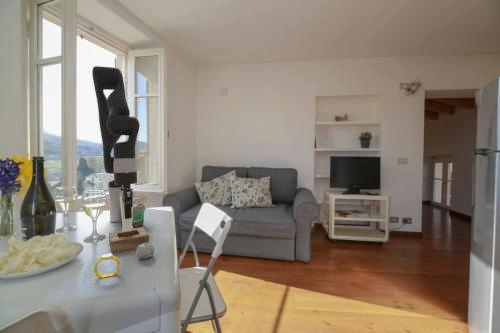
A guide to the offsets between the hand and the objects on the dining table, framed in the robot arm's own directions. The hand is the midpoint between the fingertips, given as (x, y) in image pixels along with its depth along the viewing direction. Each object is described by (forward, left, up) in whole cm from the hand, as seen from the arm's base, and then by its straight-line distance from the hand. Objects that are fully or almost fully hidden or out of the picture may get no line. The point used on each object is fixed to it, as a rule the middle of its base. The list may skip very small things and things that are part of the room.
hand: (127, 216), depth 90 cm
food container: (-20, +6, -11) cm, 23 cm away
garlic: (+16, +3, -11) cm, 20 cm away
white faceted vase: (0, 0, -5) cm, 5 cm away
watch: (+23, -8, -11) cm, 27 cm away
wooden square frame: (0, 0, -10) cm, 10 cm away
